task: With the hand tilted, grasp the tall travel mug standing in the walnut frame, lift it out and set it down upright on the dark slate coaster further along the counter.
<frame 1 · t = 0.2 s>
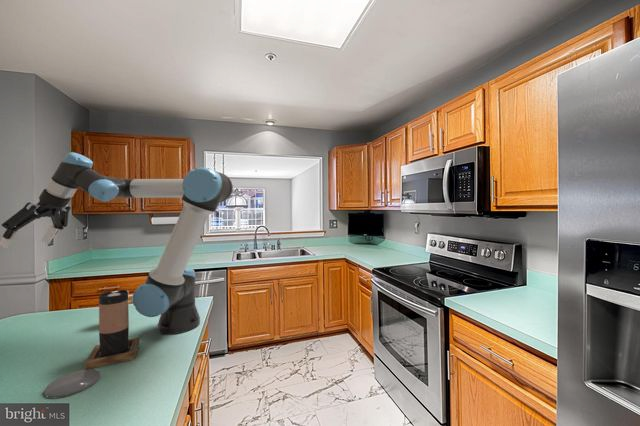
hand: (25, 244, 97), 35 cm above the worktop, tool tilted 35°, fingers open, 13 cm apart
slate coaster: (73, 384, 74), on the worktop
travel mug: (114, 355, 89), resting in walnut frame
walnut frame: (114, 355, 89), on the worktop
character mug: (118, 324, 113), on the worktop
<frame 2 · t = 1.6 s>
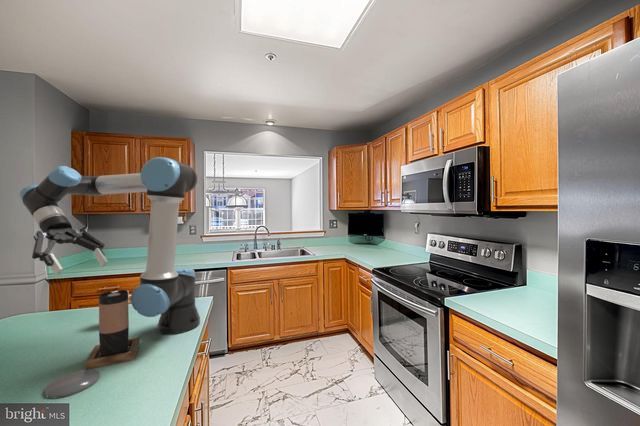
hand: (83, 267, 92), 27 cm above the worktop, tool tilted 45°, fingers open, 13 cm apart
nothing on the worktop moved.
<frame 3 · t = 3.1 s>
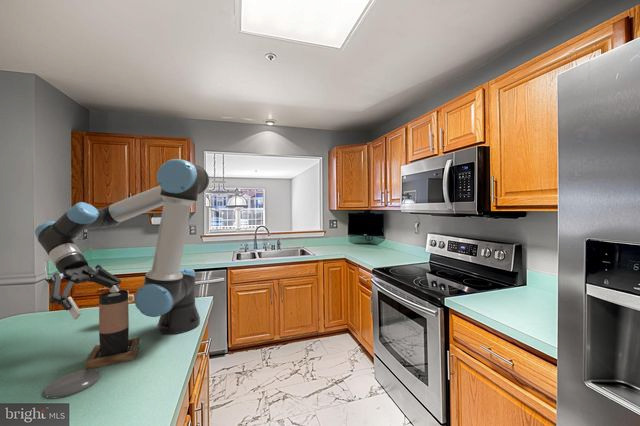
hand: (101, 308, 89), 15 cm above the worktop, tool tilted 45°, fingers open, 13 cm apart
nothing on the worktop moved.
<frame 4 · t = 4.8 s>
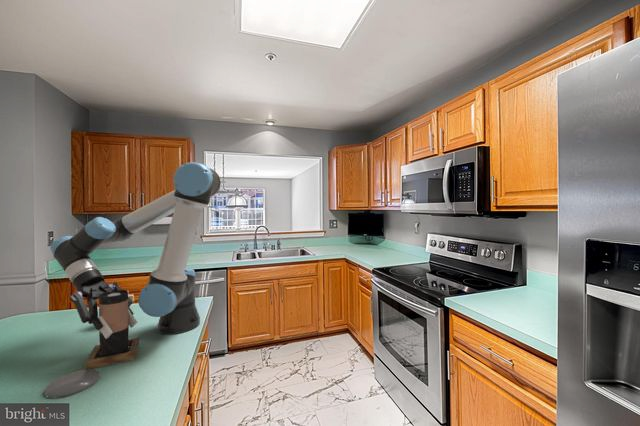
hand: (122, 329, 88), 9 cm above the worktop, tool tilted 45°, fingers closed on travel mug, 7 cm apart
travel mug: (114, 355, 89), resting in walnut frame, touching gripper
everything else where it was.
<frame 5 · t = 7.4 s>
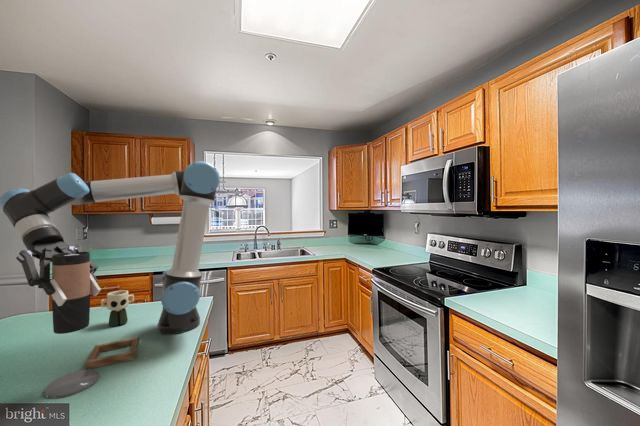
hand: (80, 297, 73), 24 cm above the worktop, tool tilted 45°, fingers closed on travel mug, 7 cm apart
travel mug: (71, 328, 74), point 15 cm above the worktop, touching gripper
everything else where it was.
when the fingers open (10 cm above the worktop, at t = 10.3 s): travel mug stays where it is, resting on slate coaster.
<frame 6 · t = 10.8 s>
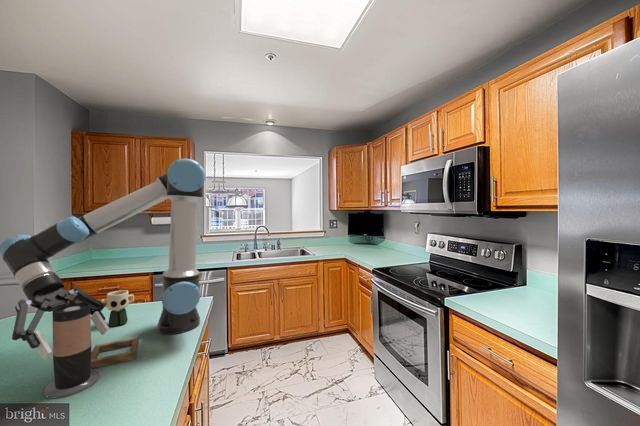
hand: (79, 342, 73), 11 cm above the worktop, tool tilted 45°, fingers open, 13 cm apart
travel mug: (73, 381, 74), point 1 cm above the worktop, touching slate coaster
everything else where it was.
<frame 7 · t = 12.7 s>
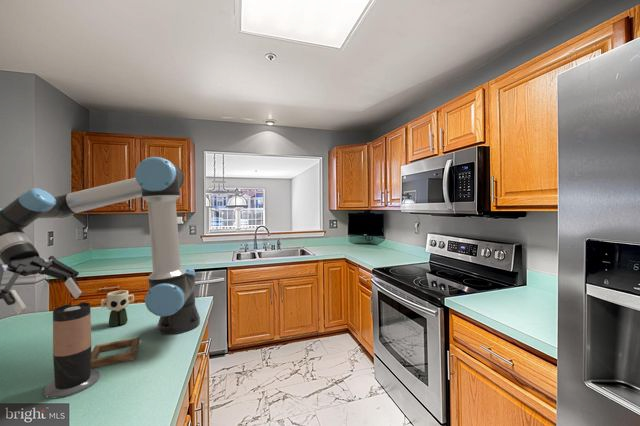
hand: (53, 303, 81), 20 cm above the worktop, tool tilted 45°, fingers open, 13 cm apart
nothing on the worktop moved.
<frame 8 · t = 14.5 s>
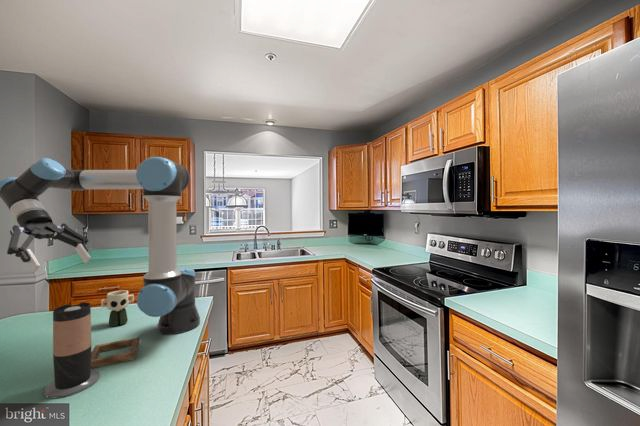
hand: (64, 264, 87), 30 cm above the worktop, tool tilted 45°, fingers open, 13 cm apart
nothing on the worktop moved.
at the end: travel mug 0.1 cm from the slate coaster (horizontally); travel mug tilted 0°; the gripper is holding nothing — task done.
